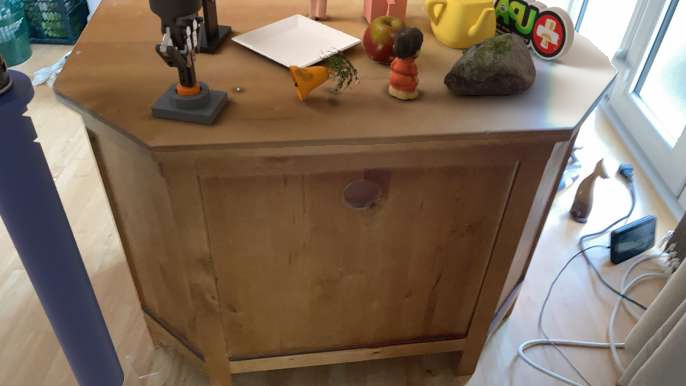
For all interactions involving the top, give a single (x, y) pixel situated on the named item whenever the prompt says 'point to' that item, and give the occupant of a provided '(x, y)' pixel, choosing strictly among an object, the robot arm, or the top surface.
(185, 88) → the button
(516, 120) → the top surface
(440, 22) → the teapot
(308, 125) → the top surface
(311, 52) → the plate
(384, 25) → the fruit
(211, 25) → the switch bracket
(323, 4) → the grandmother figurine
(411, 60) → the figurine
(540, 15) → the sign
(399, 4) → the pink blocky piece
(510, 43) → the stone
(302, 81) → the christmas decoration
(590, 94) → the top surface
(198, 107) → the control block
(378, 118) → the top surface
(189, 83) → the robot arm
